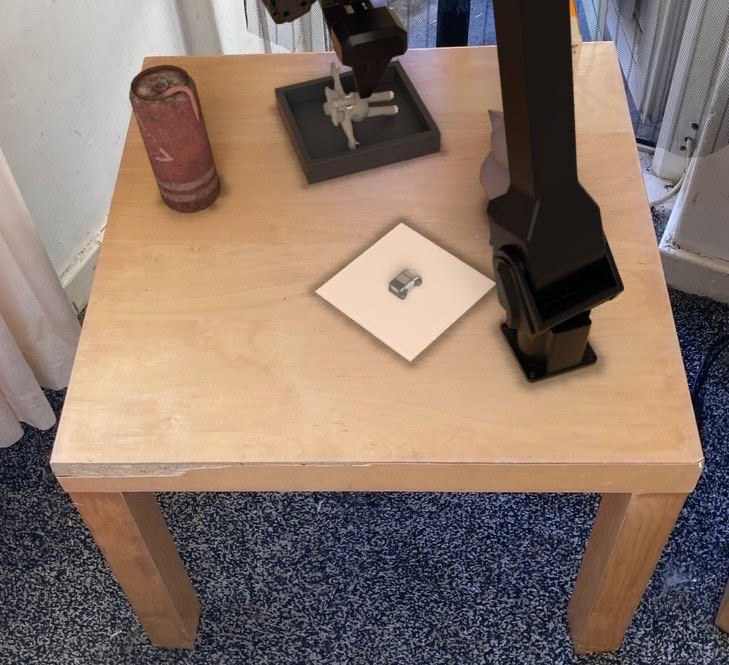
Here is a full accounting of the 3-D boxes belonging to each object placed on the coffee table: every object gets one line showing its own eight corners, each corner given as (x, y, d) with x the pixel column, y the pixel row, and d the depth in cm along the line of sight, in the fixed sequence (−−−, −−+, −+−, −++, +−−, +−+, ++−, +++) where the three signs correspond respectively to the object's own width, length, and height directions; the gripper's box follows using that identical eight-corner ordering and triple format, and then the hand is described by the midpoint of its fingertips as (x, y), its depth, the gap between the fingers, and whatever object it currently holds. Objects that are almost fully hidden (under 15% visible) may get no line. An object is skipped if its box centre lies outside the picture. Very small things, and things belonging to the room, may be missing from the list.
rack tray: (440, 151, 91) (441, 132, 89) (308, 185, 88) (306, 166, 86) (398, 78, 99) (398, 59, 97) (277, 107, 97) (274, 88, 94)
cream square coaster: (496, 283, 79) (497, 272, 78) (410, 361, 74) (410, 351, 73) (401, 222, 85) (401, 211, 83) (314, 291, 80) (313, 281, 78)
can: (213, 218, 86) (183, 105, 75) (154, 212, 87) (116, 99, 76) (231, 178, 90) (204, 64, 79) (174, 172, 91) (140, 58, 80)
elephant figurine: (419, 140, 91) (351, 148, 86) (387, 156, 96) (320, 164, 91) (396, 48, 91) (327, 51, 86) (365, 69, 96) (298, 73, 91)
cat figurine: (480, 241, 82) (489, 145, 73) (472, 185, 87) (479, 88, 78) (569, 237, 82) (589, 139, 73) (556, 181, 87) (573, 83, 78)
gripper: (230, -108, 80) (255, 38, 92) (278, -5, 69) (299, 145, 81) (344, -131, 81) (353, 16, 94) (409, -33, 70) (409, 119, 83)
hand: (351, 71), depth 88 cm, fingers open, 9 cm apart
